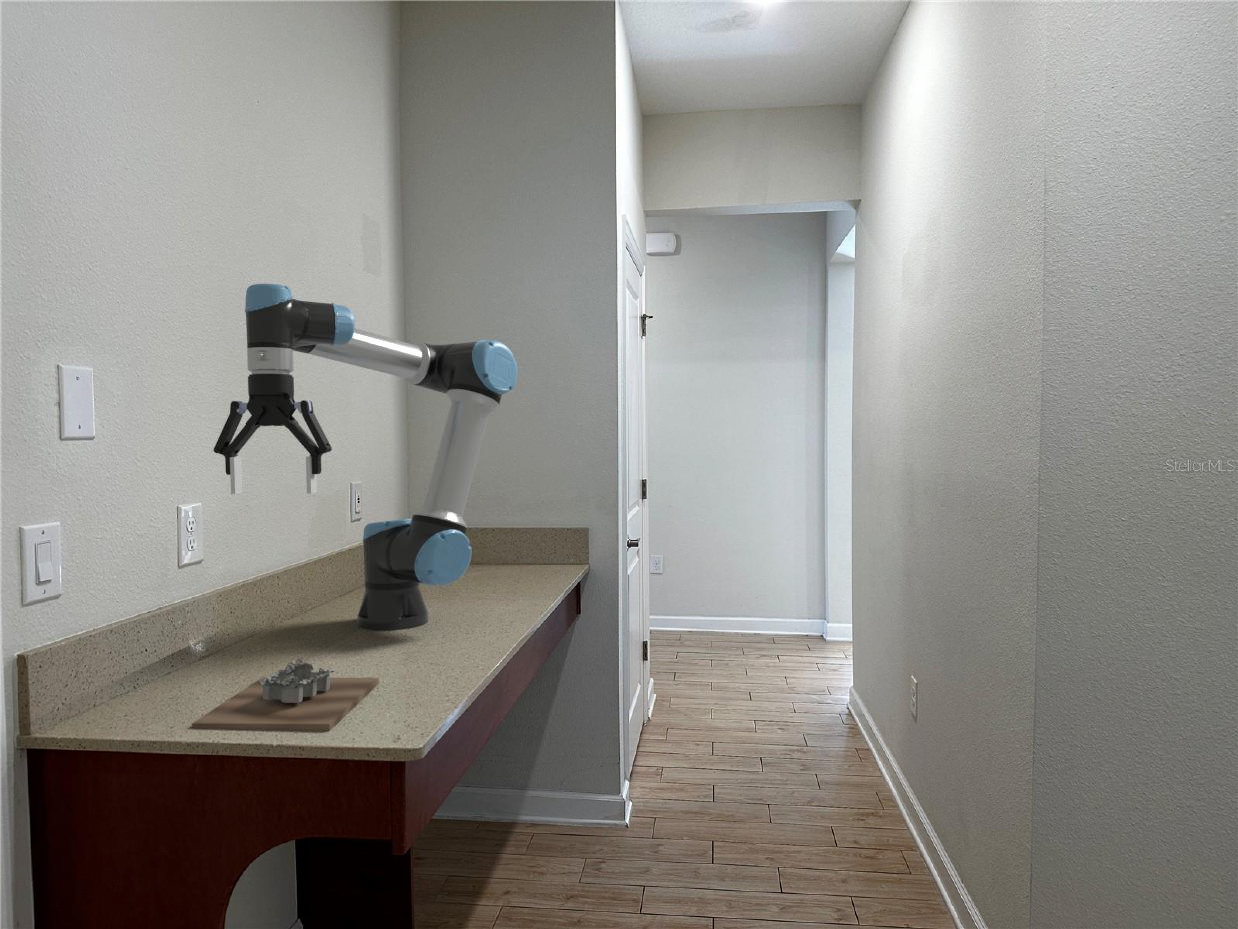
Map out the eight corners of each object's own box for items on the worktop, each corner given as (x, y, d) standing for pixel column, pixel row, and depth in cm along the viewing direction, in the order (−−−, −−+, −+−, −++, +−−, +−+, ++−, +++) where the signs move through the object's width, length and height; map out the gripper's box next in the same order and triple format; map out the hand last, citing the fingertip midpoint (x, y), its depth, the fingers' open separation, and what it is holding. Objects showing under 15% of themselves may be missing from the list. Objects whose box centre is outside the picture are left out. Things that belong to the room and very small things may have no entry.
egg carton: (300, 680, 140) (302, 656, 140) (338, 688, 137) (339, 663, 137) (252, 698, 130) (253, 671, 130) (291, 706, 127) (293, 679, 127)
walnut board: (262, 684, 144) (261, 677, 144) (378, 684, 143) (378, 677, 143) (192, 731, 122) (192, 723, 122) (329, 732, 121) (329, 723, 121)
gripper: (190, 373, 147) (194, 495, 148) (332, 371, 146) (335, 494, 147) (212, 375, 155) (216, 492, 156) (348, 373, 154) (350, 491, 155)
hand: (274, 493), depth 152 cm, fingers open, 13 cm apart
